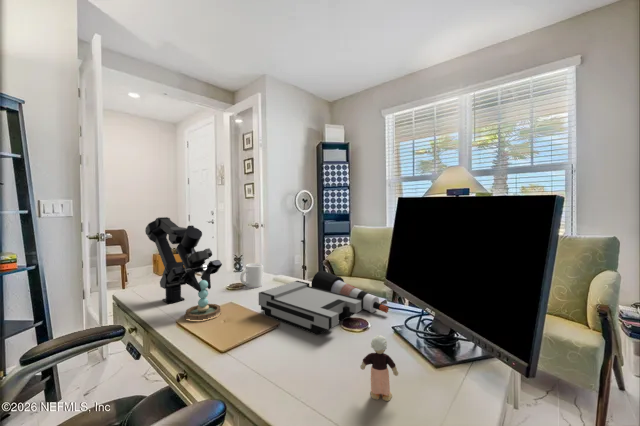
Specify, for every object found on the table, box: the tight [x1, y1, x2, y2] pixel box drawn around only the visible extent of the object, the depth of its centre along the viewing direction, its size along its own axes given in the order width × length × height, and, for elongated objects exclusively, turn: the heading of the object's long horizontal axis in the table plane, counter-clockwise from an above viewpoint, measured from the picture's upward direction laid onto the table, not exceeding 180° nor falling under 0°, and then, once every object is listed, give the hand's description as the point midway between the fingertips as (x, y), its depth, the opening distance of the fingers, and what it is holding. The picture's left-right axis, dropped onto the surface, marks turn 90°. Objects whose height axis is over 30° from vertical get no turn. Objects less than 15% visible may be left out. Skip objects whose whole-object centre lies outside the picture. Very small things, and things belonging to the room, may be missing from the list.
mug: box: [239, 262, 264, 289], centre depth 134 cm, size 12×8×10 cm
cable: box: [311, 270, 390, 314], centre depth 111 cm, size 10×34×10 cm, turn 46°
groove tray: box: [184, 303, 222, 320], centre depth 99 cm, size 12×12×2 cm
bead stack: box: [197, 279, 209, 311], centre depth 99 cm, size 4×4×11 cm
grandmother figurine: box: [359, 334, 399, 402], centre depth 58 cm, size 8×4×13 cm, turn 87°
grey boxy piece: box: [258, 280, 364, 336], centre depth 99 cm, size 21×32×8 cm, turn 52°
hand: (205, 289), depth 98 cm, fingers open, 3 cm apart
